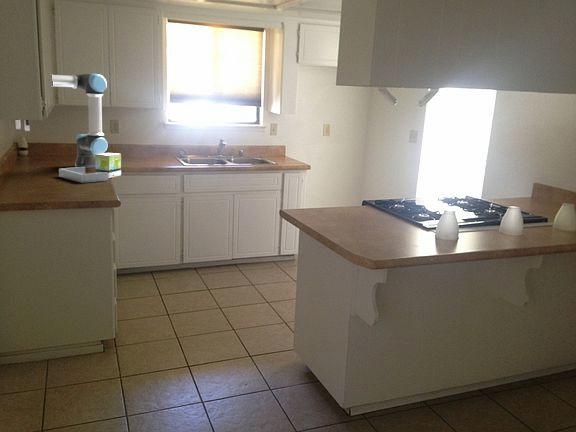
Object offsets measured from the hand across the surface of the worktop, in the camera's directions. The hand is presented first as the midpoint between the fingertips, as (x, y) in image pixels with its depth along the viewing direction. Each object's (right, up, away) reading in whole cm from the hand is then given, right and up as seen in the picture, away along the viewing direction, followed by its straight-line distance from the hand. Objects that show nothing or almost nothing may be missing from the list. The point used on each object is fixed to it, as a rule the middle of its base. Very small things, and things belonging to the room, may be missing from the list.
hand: (22, 130), depth 327 cm
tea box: (+49, -28, +14) cm, 58 cm away
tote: (+38, -30, +1) cm, 48 cm away
